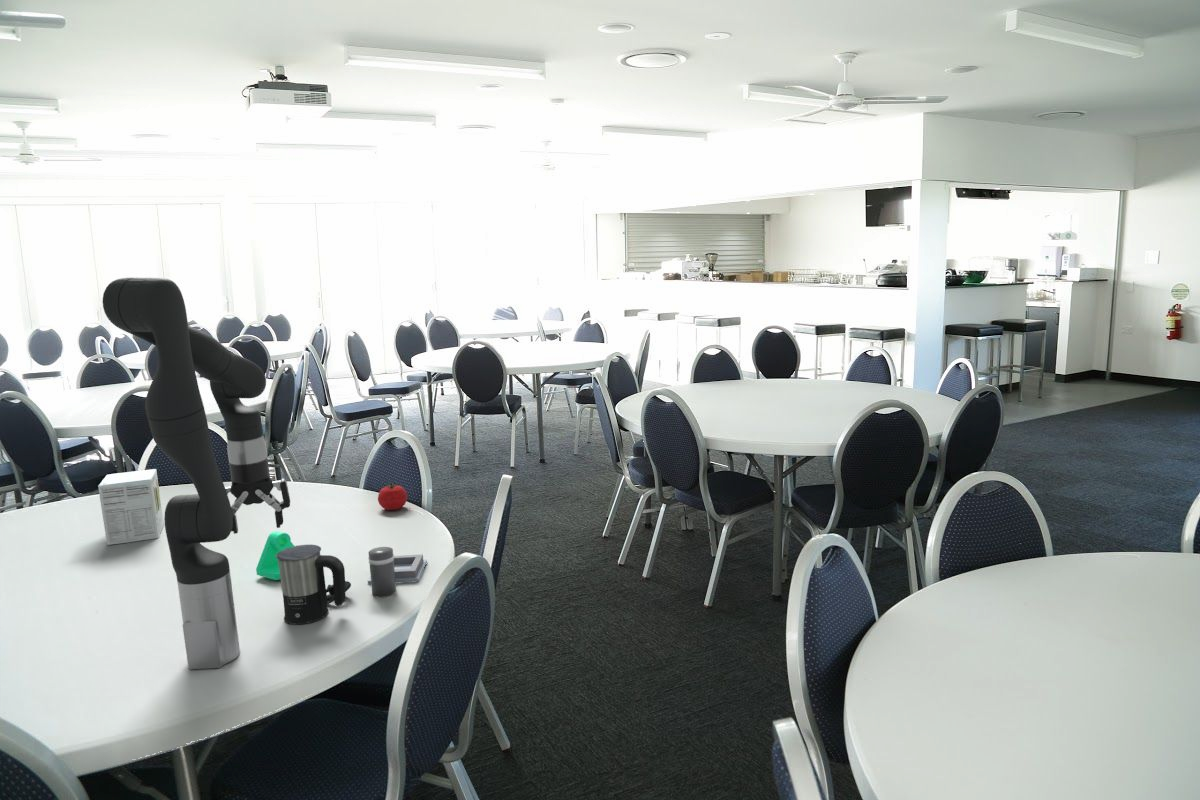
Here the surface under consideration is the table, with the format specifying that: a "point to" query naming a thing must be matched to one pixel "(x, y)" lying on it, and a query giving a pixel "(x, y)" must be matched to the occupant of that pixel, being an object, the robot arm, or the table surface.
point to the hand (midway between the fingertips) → (257, 529)
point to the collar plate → (407, 568)
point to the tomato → (392, 497)
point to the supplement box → (131, 506)
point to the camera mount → (273, 555)
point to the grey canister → (382, 571)
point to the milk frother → (309, 583)
